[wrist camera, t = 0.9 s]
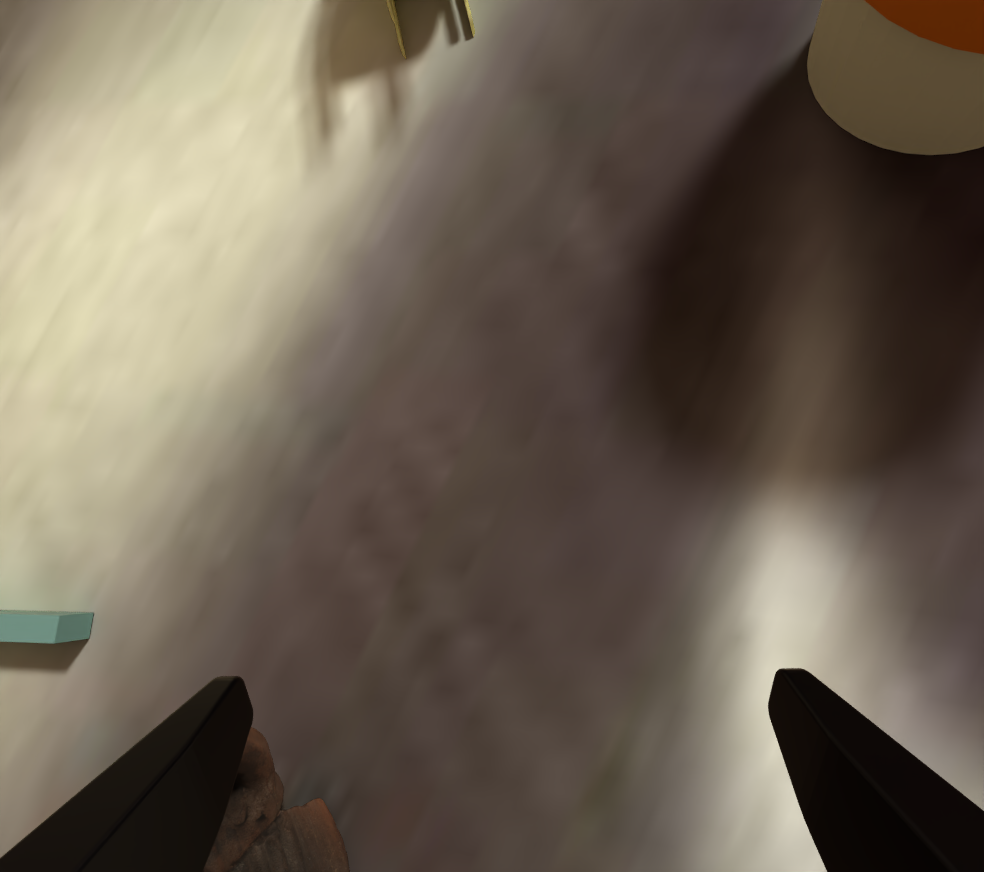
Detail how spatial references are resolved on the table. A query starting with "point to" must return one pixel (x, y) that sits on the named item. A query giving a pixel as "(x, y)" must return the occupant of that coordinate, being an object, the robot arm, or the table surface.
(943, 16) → the reusable coffee cup
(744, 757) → the table surface
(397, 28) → the trophy
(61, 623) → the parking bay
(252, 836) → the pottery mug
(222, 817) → the robot arm
